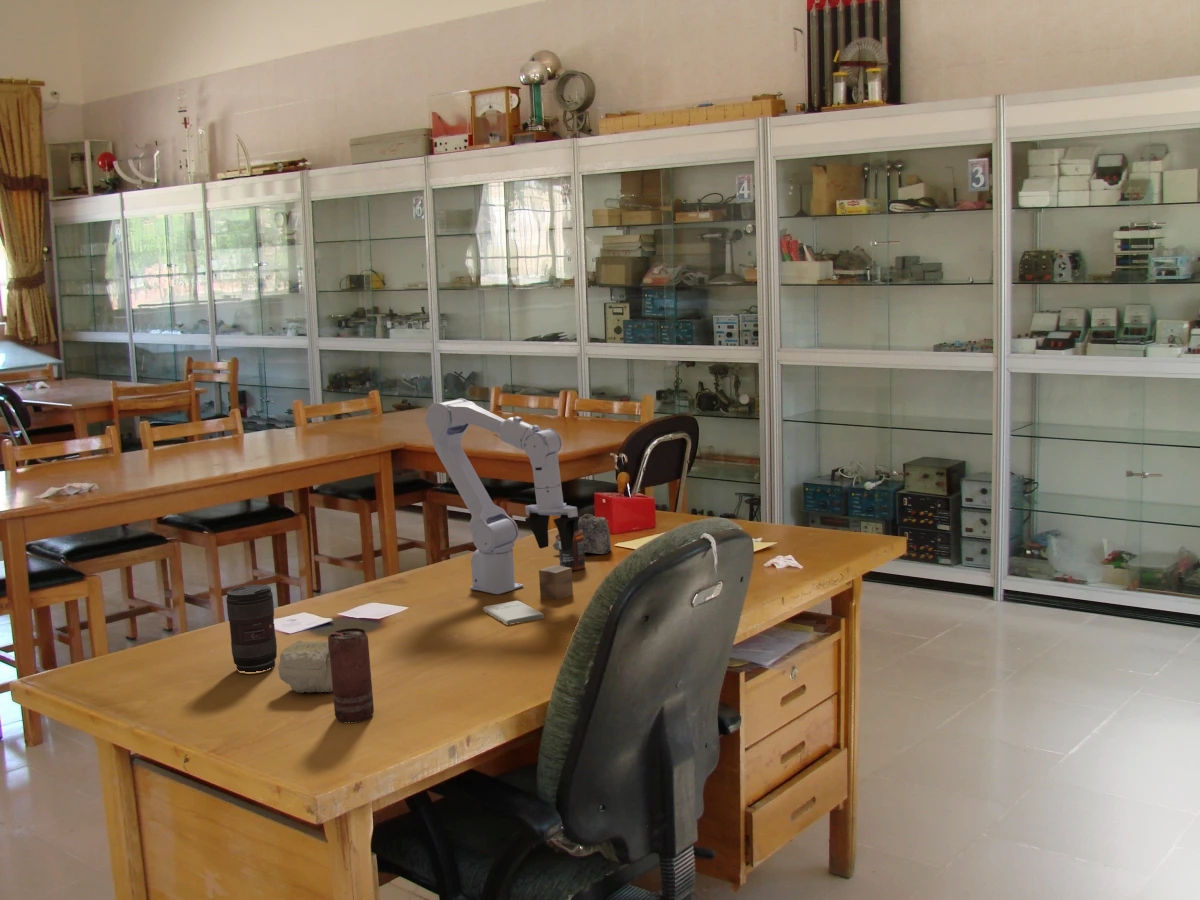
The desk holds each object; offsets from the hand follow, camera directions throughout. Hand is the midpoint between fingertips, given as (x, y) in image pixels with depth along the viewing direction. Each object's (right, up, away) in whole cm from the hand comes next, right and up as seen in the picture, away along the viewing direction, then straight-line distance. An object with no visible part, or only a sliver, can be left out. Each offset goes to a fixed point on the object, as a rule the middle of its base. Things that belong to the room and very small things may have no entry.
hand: (555, 548), depth 248 cm
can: (-30, -22, -63) cm, 73 cm away
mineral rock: (+6, -5, +39) cm, 40 cm away
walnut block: (0, -10, +2) cm, 11 cm away
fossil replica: (-39, -20, -49) cm, 66 cm away
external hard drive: (-8, -13, -10) cm, 19 cm away
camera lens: (-53, -19, -36) cm, 67 cm away
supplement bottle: (+3, -7, +25) cm, 26 cm away
